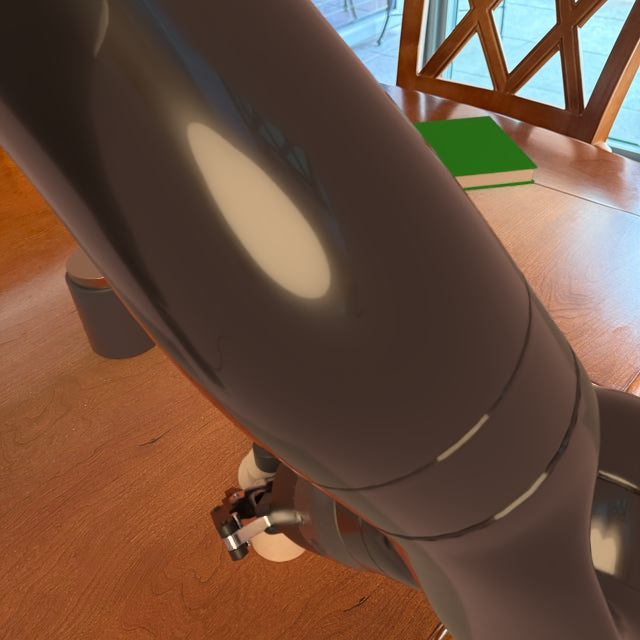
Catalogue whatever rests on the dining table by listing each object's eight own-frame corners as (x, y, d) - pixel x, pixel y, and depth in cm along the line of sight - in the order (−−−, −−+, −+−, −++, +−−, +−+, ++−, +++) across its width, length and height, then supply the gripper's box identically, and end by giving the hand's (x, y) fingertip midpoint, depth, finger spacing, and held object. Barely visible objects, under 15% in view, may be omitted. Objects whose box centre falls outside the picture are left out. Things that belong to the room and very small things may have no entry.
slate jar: (106, 370, 69) (77, 292, 62) (79, 330, 75) (49, 254, 68) (176, 337, 73) (157, 260, 66) (146, 302, 79) (124, 227, 72)
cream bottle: (272, 574, 50) (258, 488, 42) (238, 526, 54) (218, 438, 46) (326, 536, 53) (321, 448, 45) (289, 493, 56) (279, 403, 48)
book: (534, 183, 100) (537, 166, 98) (368, 200, 97) (368, 183, 95) (486, 129, 117) (488, 114, 115) (344, 143, 114) (344, 128, 112)
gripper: (415, 384, 39) (312, 400, 54) (220, 507, 32) (166, 486, 47) (467, 488, 39) (350, 475, 54) (283, 631, 32) (209, 570, 47)
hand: (264, 480), depth 50 cm, fingers closed on cream bottle, 5 cm apart
